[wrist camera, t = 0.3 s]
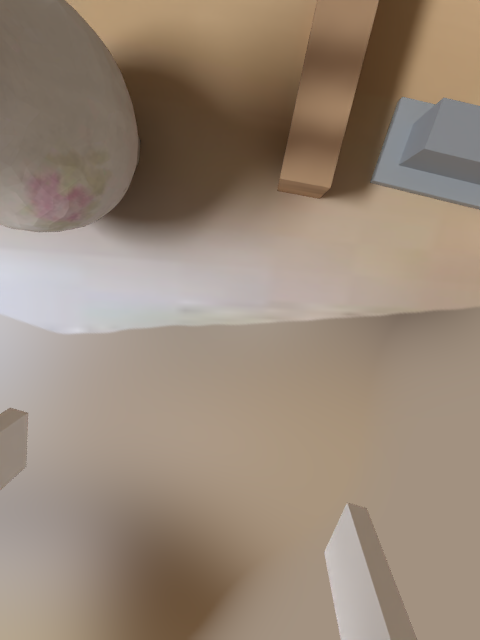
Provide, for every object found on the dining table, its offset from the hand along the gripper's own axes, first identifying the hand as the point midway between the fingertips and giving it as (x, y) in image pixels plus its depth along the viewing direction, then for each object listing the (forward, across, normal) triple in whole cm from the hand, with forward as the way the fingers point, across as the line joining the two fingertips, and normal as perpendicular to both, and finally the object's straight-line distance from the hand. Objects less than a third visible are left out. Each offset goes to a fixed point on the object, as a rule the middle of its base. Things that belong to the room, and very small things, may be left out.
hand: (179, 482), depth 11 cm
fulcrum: (+26, +17, +23) cm, 39 cm away
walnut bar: (+27, +2, +26) cm, 38 cm away
